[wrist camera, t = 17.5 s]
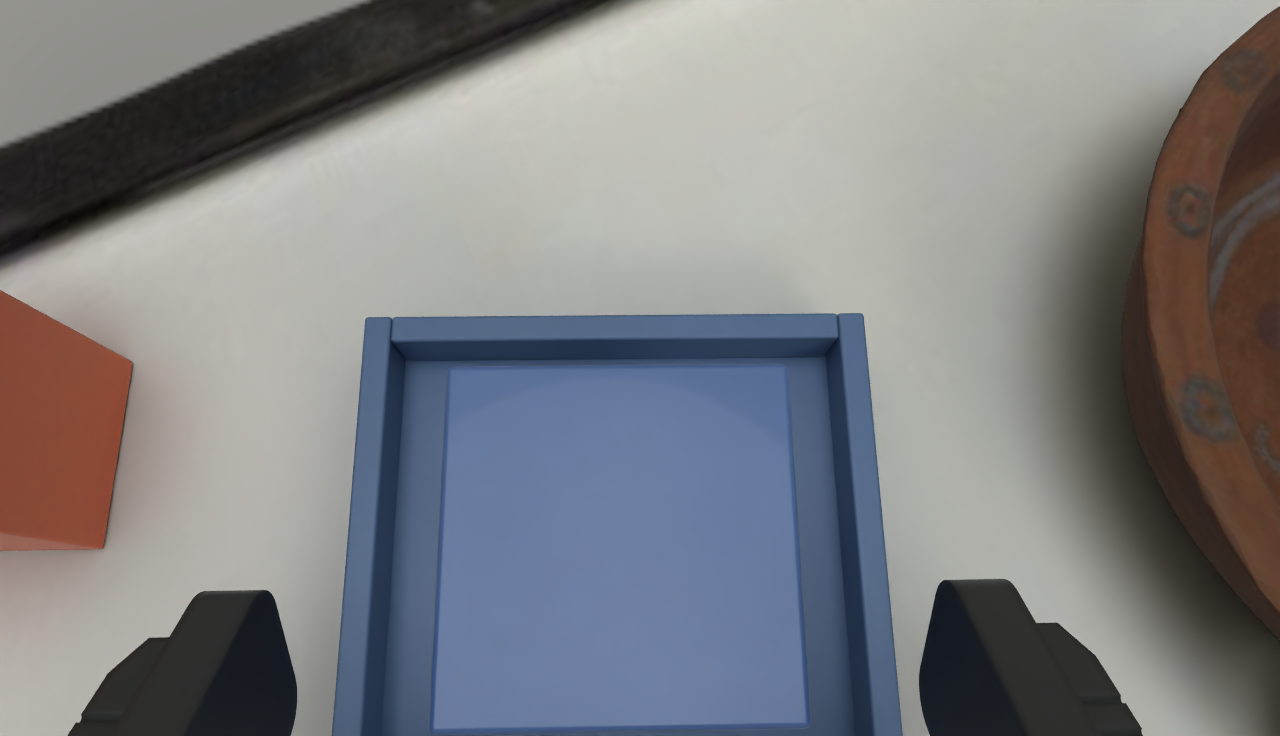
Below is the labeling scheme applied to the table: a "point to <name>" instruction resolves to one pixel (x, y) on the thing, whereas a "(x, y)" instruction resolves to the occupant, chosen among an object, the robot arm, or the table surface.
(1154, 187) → the dish
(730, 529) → the blue block
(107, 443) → the terracotta block
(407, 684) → the blue tray
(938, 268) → the table surface
